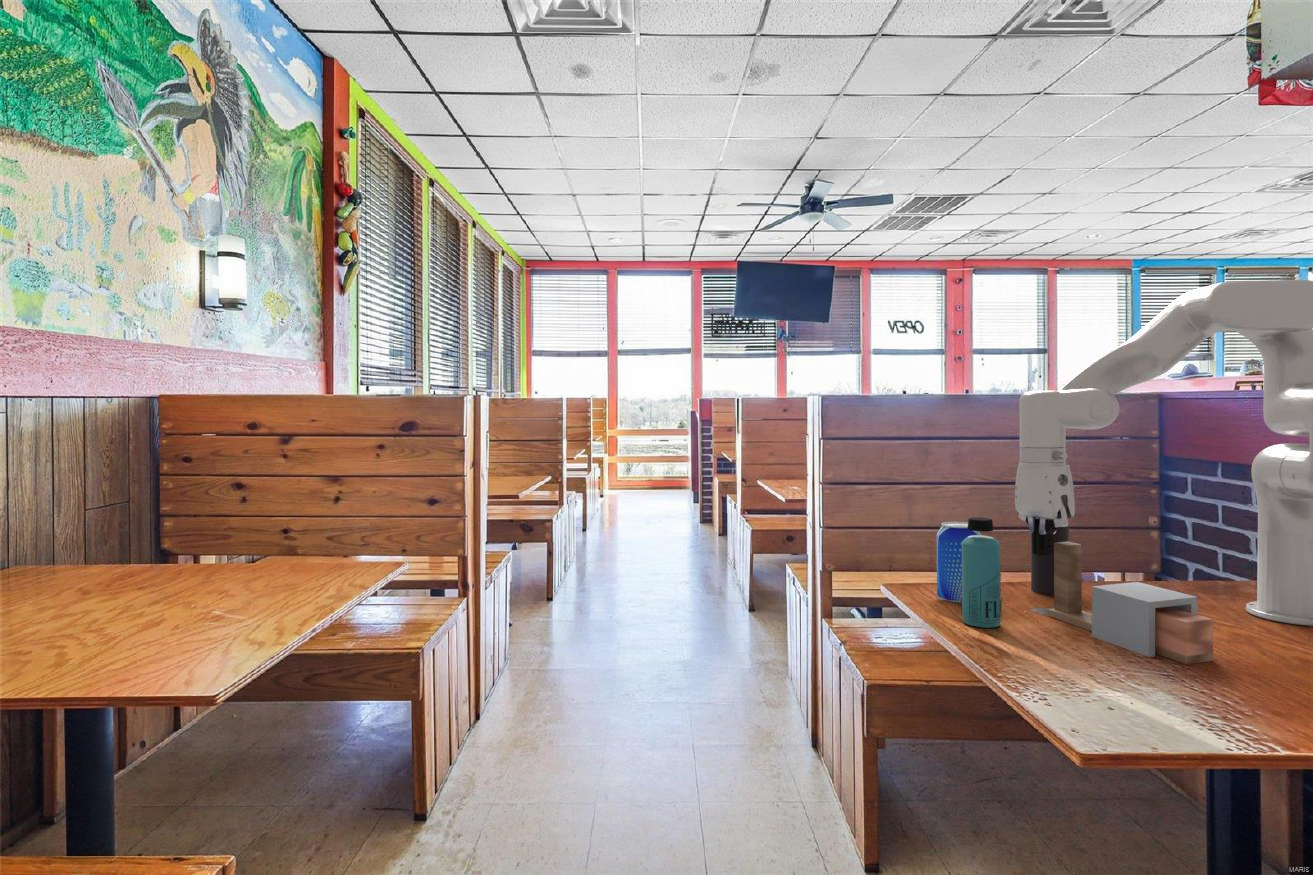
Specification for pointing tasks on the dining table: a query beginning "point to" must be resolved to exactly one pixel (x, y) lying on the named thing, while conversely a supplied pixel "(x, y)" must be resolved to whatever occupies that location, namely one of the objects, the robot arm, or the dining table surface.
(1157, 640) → the sled
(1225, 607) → the dining table surface
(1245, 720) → the dining table surface
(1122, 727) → the dining table surface
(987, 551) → the beverage bottle
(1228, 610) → the dining table surface
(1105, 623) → the tunnel
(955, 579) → the beer can
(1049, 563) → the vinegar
